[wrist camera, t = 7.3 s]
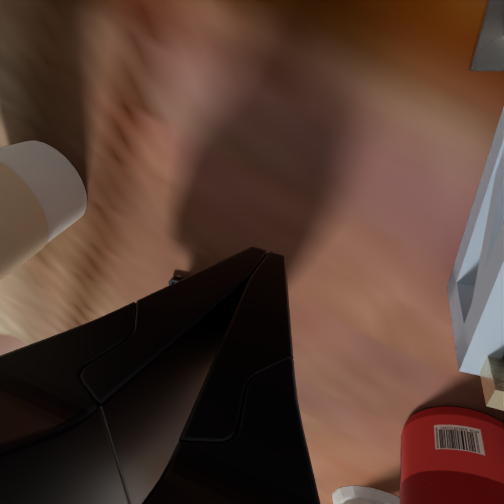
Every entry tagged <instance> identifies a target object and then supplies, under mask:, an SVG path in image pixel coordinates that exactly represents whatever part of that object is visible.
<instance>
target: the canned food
mask: <svg viewBox="0 0 504 504" xmlns="http://www.w3.org/2000/svg"><path fill="white" fill-rule="evenodd" d="M400 504H504V424H503V423H502V422H500V421H499V420H497V419H496V418H493V417H491V416H489V415H487V414H484V413H481V412H478V411H475V410H471V409H466V408H460V407H434V408H429V409H425V410H422V411H419V412H417V413H415V414H413V415H412V416H411V417H410V418H409V419H408V420H407V422H406V423H405V426H404V428H403V431H402V435H401V465H400Z"/></svg>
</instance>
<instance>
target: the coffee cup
mask: <svg viewBox="0 0 504 504" xmlns="http://www.w3.org/2000/svg"><path fill="white" fill-rule="evenodd" d="M86 208H87V194H86V190H85V187H84V184H83V182H82V180H81V178H80V176H79V174H78V172H77V171H76V169H75V168H74V167H73V165H72V164H71V163H70V162H69V160H68V159H67V158H66V157H65V156H64V155H62V154H61V153H60V152H59V151H58V150H56V149H55V148H53V147H51V146H50V145H48V144H46V143H43V142H40V141H26V142H21V143H17V144H13V145H8V146H4V147H0V281H2V280H3V279H4V278H5V277H7V276H8V275H9V274H11V273H12V272H13V271H14V270H16V269H17V268H18V267H20V266H21V265H22V264H23V263H25V262H26V261H27V260H28V259H30V258H31V257H32V256H34V255H35V254H36V253H37V252H39V251H40V250H41V249H43V248H44V247H45V245H46V244H47V243H48V242H49V241H51V240H52V239H53V238H55V237H56V236H57V235H59V234H60V233H61V232H63V231H64V230H65V229H66V228H68V227H69V226H70V225H72V224H73V223H74V222H76V221H77V220H78V219H80V218H81V217H82V216H83V215H84V213H85V211H86Z"/></svg>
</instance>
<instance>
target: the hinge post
mask: <svg viewBox="0 0 504 504" xmlns="http://www.w3.org/2000/svg"><path fill="white" fill-rule="evenodd" d="M469 70H470V71H504V0H487V3H486V6H485V10H484V14H483V17H482V21H481V25H480V28H479V32H478V36H477V40H476V43H475V47H474V51H473V54H472V58H471V62H470V65H469Z"/></svg>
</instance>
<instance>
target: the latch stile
mask: <svg viewBox="0 0 504 504" xmlns="http://www.w3.org/2000/svg"><path fill="white" fill-rule="evenodd" d="M479 373H480V378H481V382H482V387H483V392H484V397H485V402H486V406H488V407H492V408H495V409H499V410H502V411H504V355H503V357H502V359H499V358H494V357H490V356H487V358H486V360H485V362H484V364H483V366H482V368H481V370H480V372H479Z"/></svg>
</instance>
